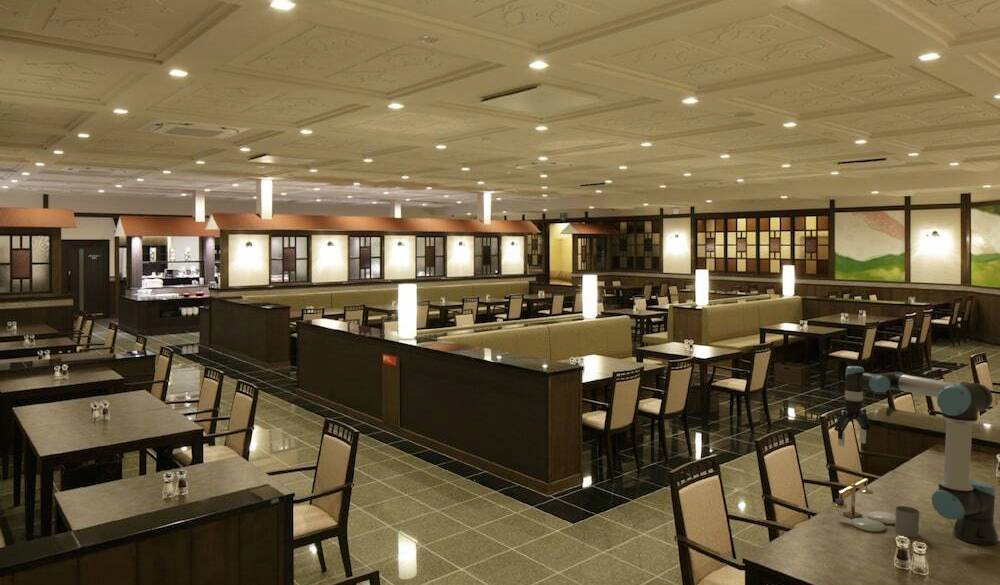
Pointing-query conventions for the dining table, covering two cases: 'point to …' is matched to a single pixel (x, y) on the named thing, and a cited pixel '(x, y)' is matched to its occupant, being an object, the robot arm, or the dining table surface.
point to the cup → (907, 521)
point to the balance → (840, 502)
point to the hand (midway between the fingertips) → (852, 444)
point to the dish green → (868, 524)
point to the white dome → (882, 517)
